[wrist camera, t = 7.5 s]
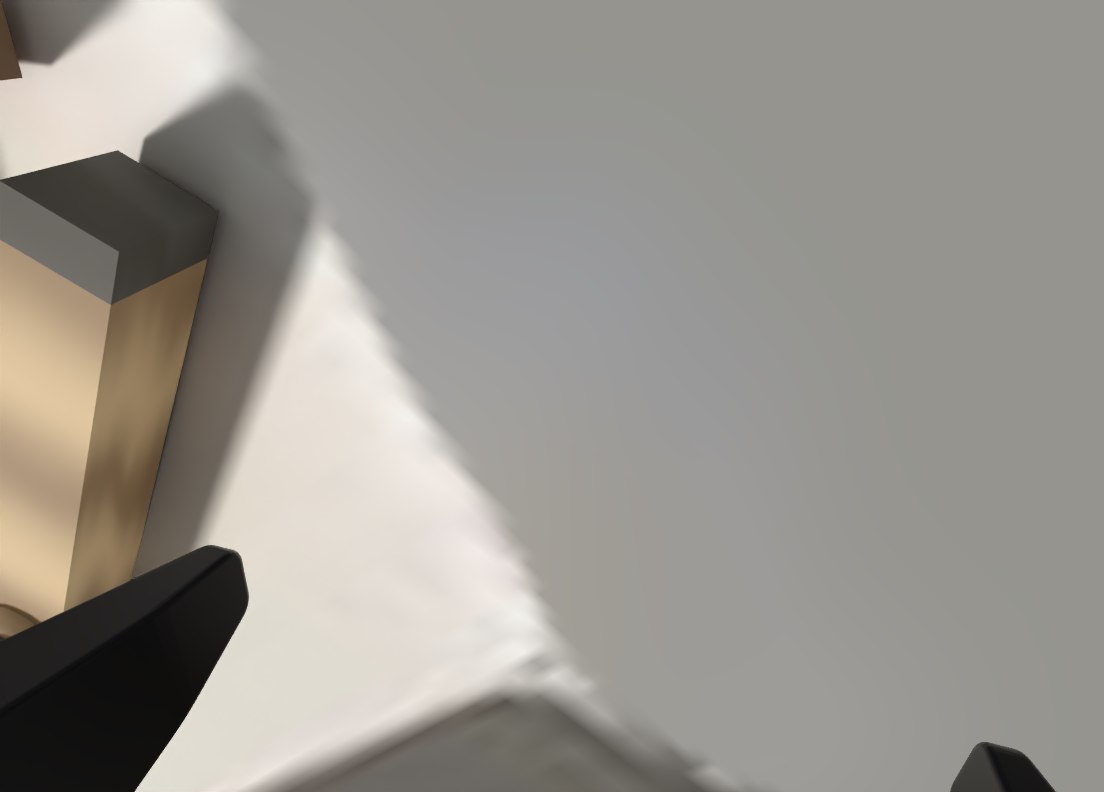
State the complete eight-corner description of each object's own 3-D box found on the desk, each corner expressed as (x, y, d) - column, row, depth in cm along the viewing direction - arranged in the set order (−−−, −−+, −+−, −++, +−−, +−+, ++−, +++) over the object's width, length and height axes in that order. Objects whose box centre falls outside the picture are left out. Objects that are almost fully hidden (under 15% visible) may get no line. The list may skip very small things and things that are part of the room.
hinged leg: (127, 620, 27) (36, 710, 24) (52, 578, 27) (-49, 661, 24) (226, 215, 18) (96, 270, 14) (110, 146, 17) (-48, 184, 14)
